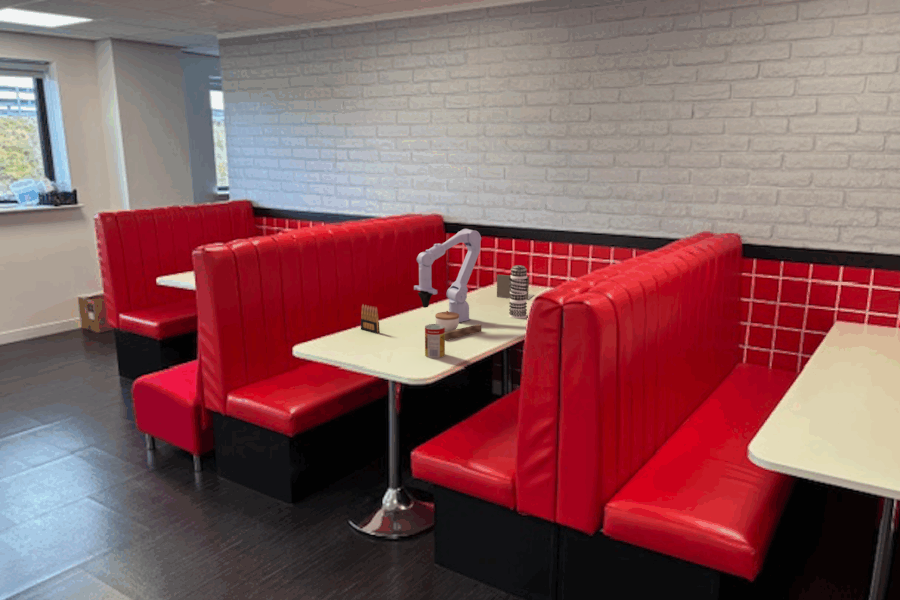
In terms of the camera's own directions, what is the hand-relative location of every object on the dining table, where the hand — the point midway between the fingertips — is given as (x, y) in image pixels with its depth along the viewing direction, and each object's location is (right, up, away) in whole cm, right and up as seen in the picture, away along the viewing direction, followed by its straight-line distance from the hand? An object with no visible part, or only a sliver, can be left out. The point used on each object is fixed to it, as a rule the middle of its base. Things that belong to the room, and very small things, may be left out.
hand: (425, 307), depth 320 cm
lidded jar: (+10, -11, -9) cm, 18 cm away
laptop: (+48, +5, +62) cm, 78 cm away
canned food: (+5, -19, -45) cm, 49 cm away
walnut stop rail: (+17, -12, -16) cm, 26 cm away
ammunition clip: (-25, -11, -9) cm, 29 cm away
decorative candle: (+45, -5, +18) cm, 48 cm away
